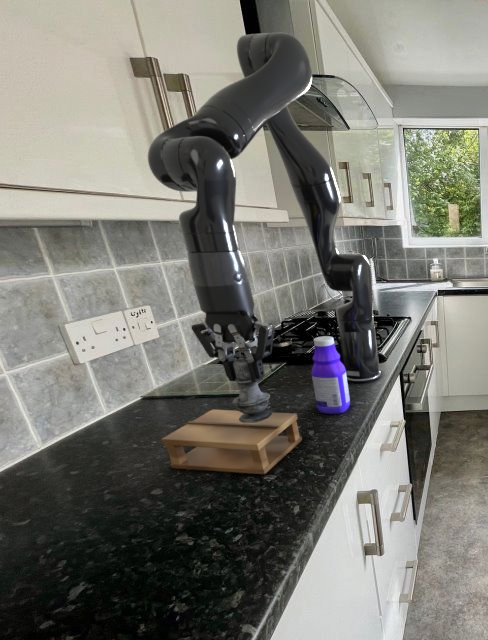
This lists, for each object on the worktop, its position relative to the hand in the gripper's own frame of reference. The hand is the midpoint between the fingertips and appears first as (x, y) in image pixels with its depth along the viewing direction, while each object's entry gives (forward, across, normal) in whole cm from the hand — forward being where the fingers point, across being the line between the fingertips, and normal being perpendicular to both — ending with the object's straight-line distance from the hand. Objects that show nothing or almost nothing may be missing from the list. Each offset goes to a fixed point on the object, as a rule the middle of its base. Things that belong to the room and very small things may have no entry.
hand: (246, 379), depth 72 cm
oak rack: (+15, +5, 0) cm, 16 cm away
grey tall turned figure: (+7, 0, 0) cm, 7 cm away
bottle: (+15, -4, -20) cm, 26 cm away
